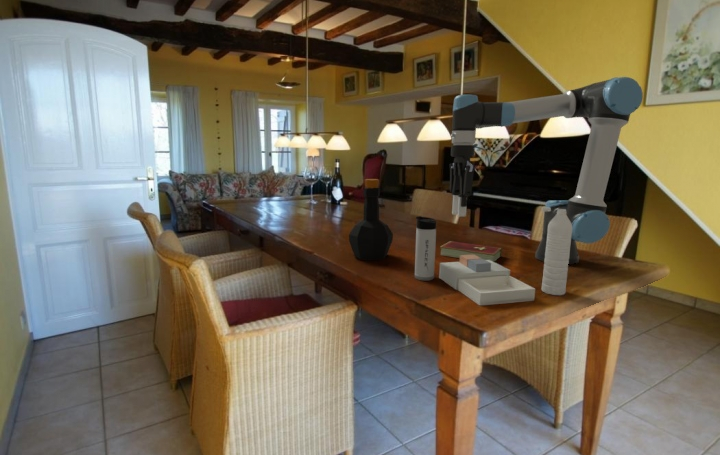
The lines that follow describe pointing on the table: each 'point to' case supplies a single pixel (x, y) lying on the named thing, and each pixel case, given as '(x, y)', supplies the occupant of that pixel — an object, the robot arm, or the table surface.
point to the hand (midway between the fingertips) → (458, 215)
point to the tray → (496, 290)
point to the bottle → (371, 228)
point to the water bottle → (557, 253)
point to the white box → (467, 272)
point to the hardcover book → (470, 250)
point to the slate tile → (479, 265)
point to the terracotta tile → (465, 259)
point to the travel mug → (425, 248)
